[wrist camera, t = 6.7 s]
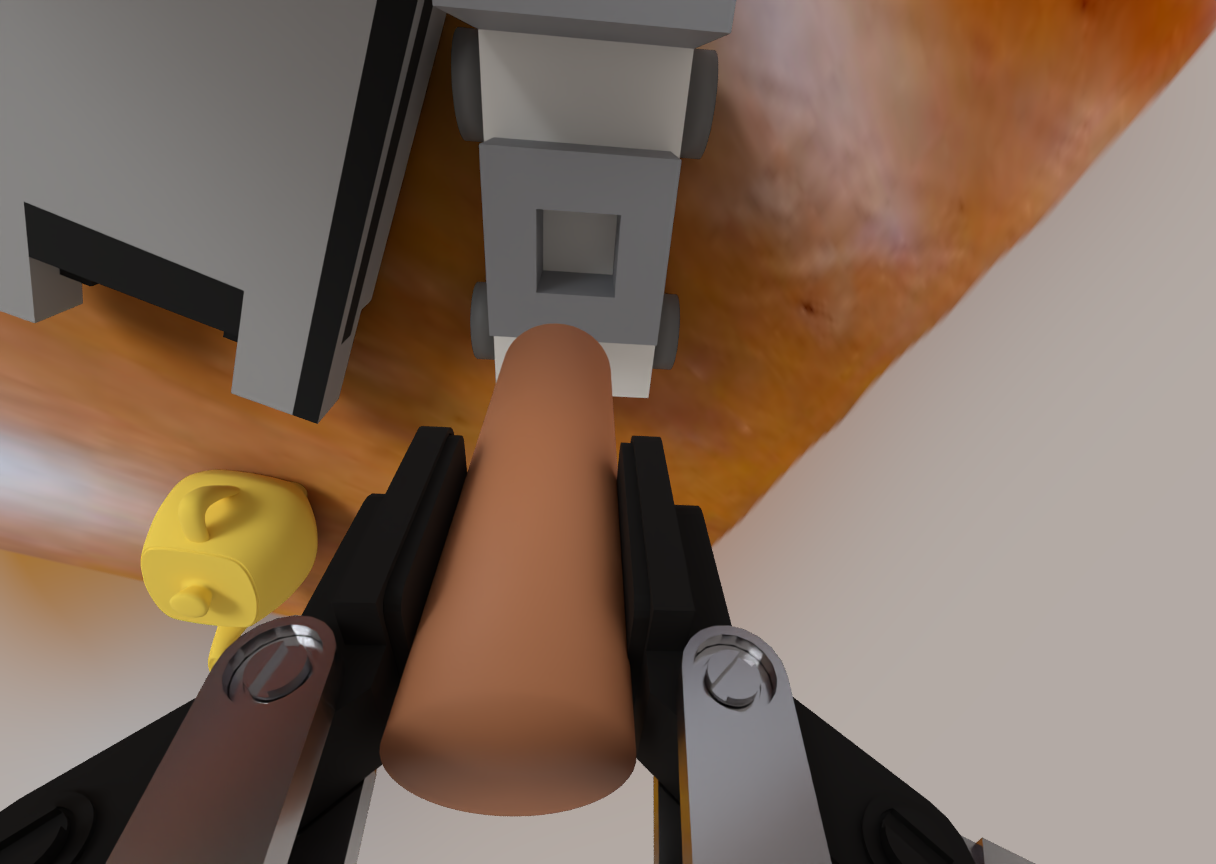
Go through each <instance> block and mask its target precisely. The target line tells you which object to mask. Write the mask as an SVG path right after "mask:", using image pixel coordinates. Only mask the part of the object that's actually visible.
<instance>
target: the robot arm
mask: <svg viewBox="0 0 1216 864" xmlns="http://www.w3.org/2000/svg"><path fill="white" fill-rule="evenodd" d="M466 476H467V467H466V456H465V446H464V439H463V436H460V435H454V432H453V429H452V428H451V427H429V426H421V427H419V429H418V430H417V432H416V434H415V436H414V438H413V440H412V442H411V444H410V446H409V448H408V450H407V452H406V454H405V456H404V458H403V460H402V462H401V464H400V466H399V468H398V470H397V472H396V474H395V476H394V478H393V480H392V482H391V484H390V486H389V488H388V490H387V492H386V494H371V495H369V496H368V497H367V498H366V499H365V501H364V502H363V504H362V506H361V508H360V510H359V511H358V513H357V515H356V517H355V519H354V520H353V522H352V524H351V526H350V528H349V530H348V531H347V533H346V535H345V537H344V539H343V541H342V542H341V544H340V546H339V548H338V550H337V552H336V553H335V555H334V557H333V559H332V561H331V562H330V564H329V566H328V568H327V570H326V572H325V573H324V575H323V577H322V579H321V581H320V583H319V584H318V586H317V588H316V590H315V592H314V594H313V595H312V597H311V599H310V601H309V603H308V604H307V606H306V608H305V610H304V612H303V614H302V615H301V616H298V615H294V616H288V617H282V618H276V619H274V620H272V621H269V622H266V623H263V624H261V625H258V626H256V627H255V628H253V629H252V630H250V631H248V632H247V633H245V634H243V635H242V636H240V637H239V638H238V639H237V640H236V641H234V642H233V643H232V644H231V645H230V646H229V647H228V648H227V649H225V650H224V652H223V653H222V655H221V656H220V657H219V659H218V660H217V661H216V663H215V664H214V666H213V667H212V669H211V671H210V673H209V675H208V677H207V678H206V680H205V682H204V684H203V686H202V688H201V689H200V691H199V693H198V695H197V697H196V698H195V699H193V700H191V701H189V702H188V703H186V704H184V705H182V706H181V707H179V708H177V709H175V710H174V711H172V712H170V713H168V714H167V715H165V716H163V717H161V718H160V719H158V720H156V721H154V722H153V723H151V724H149V725H147V726H146V727H144V728H142V729H140V730H139V731H137V732H135V733H133V734H132V735H130V736H128V737H127V738H125V739H123V740H121V741H120V742H118V743H116V744H114V745H113V746H111V747H109V748H107V749H106V750H104V751H102V752H100V753H99V754H97V755H95V756H93V757H92V758H90V759H88V760H86V761H85V762H83V763H81V764H79V765H78V766H76V767H74V768H72V769H71V770H69V771H67V772H66V773H64V774H62V775H60V776H58V777H57V778H55V779H53V780H52V781H50V782H48V783H46V784H45V785H43V786H41V787H39V788H38V789H36V790H34V791H32V792H31V793H29V794H27V795H25V796H24V797H22V798H20V799H19V800H17V801H16V802H14V803H13V804H11V805H10V806H8V807H7V808H5V809H4V810H2V811H1V812H0V864H356V863H357V859H358V855H359V850H360V846H361V841H362V837H363V832H364V827H365V823H366V819H367V814H368V810H369V806H370V801H371V796H372V792H373V788H374V783H375V779H376V771H377V768H378V767H380V766H381V765H382V762H381V758H380V753H379V752H380V743H381V740H382V737H383V734H384V731H385V728H386V725H387V721H388V718H389V715H390V712H391V709H392V706H393V703H394V700H395V697H396V693H397V690H398V687H399V684H400V681H401V678H402V675H403V672H404V669H405V665H406V662H407V659H408V656H409V653H410V650H411V647H412V644H413V641H414V638H415V635H416V632H417V628H418V625H419V622H420V619H421V616H422V613H423V610H424V607H425V604H426V600H427V597H428V594H429V591H430V588H431V585H432V582H433V579H434V576H435V572H436V569H437V566H438V563H439V560H440V557H441V554H442V551H443V547H444V544H445V541H446V538H447V535H448V532H449V529H450V526H451V523H452V519H453V516H454V513H455V510H456V507H457V504H458V501H459V498H460V495H461V491H462V488H463V485H464V482H465V479H466ZM617 495H618V511H619V527H620V543H621V559H622V575H623V591H624V607H625V624H626V640H627V656H628V659H629V663H630V669H631V682H632V697H633V712H634V727H635V742H636V758H637V759H638V760H639V761H640V762H641V763H642V764H643V765H644V766H645V767H646V768H647V769H648V770H649V771H650V772H651V773H652V774H653V775H654V777H653V780H654V781H653V783H654V785H653V787H654V789H653V790H654V864H1035V863H1033V862H1030V861H1029V860H1027V859H1025V858H1023V857H1020V856H1019V855H1017V854H1014V853H1012V852H1010V851H1008V850H1006V849H1004V848H1002V847H1000V846H998V845H996V844H994V843H992V842H990V841H988V840H986V839H984V838H981V839H980V840H979V841H978V842H977V843H975V842H973V841H971V840H969V839H967V838H965V837H963V836H961V835H960V834H959V833H958V831H957V830H956V829H955V827H954V826H953V825H952V823H951V822H950V821H949V819H948V818H947V817H946V816H945V815H944V814H943V813H941V812H940V811H939V810H938V809H937V808H936V807H935V806H934V805H933V804H932V803H931V802H930V801H928V800H927V799H926V798H924V797H923V796H922V795H920V794H919V793H918V792H917V791H915V790H914V789H913V788H911V787H910V786H909V785H907V784H906V783H905V782H904V781H902V780H901V779H900V778H898V777H897V776H896V775H894V774H893V773H892V772H890V771H889V770H888V769H887V768H885V767H884V766H883V765H881V764H880V763H879V762H877V761H876V760H875V759H873V758H872V757H871V756H870V755H868V754H867V753H865V752H864V751H863V750H862V749H860V748H859V747H858V746H856V745H855V744H854V743H853V742H851V741H850V740H849V739H847V738H846V737H844V736H843V735H842V734H841V733H839V732H838V731H837V730H836V729H834V728H833V727H832V726H830V725H829V724H827V723H826V722H825V721H824V720H822V719H821V718H820V717H818V716H817V715H816V714H815V713H813V712H812V711H811V710H809V709H808V708H807V707H805V706H804V705H802V704H801V703H800V702H799V701H798V700H796V699H795V698H794V697H793V696H792V692H791V688H790V683H789V679H788V676H787V673H786V670H785V668H784V665H783V663H782V661H781V659H780V658H779V657H778V655H777V654H776V653H775V651H774V650H773V649H772V647H770V646H769V645H768V644H767V643H766V642H764V641H763V640H762V639H761V638H760V637H758V636H756V635H754V634H752V633H750V632H748V631H746V630H744V629H741V628H736V627H732V625H731V622H730V617H729V613H728V610H727V606H726V602H725V598H724V594H723V591H722V586H721V582H720V579H719V575H718V571H717V567H716V563H715V559H714V555H713V552H712V548H711V544H710V540H709V536H708V532H707V528H706V524H705V520H704V517H703V513H702V510H701V508H700V507H699V506H690V505H674V501H673V496H672V490H671V485H670V480H669V475H668V470H667V465H666V460H665V455H664V449H663V444H662V440H661V438H660V437H649V436H632V438H631V443H621V445H620V452H619V462H618V471H617Z"/></svg>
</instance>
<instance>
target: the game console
mask: <svg viewBox="0 0 1216 864" xmlns="http://www.w3.org/2000/svg"><path fill="white" fill-rule="evenodd" d="M446 14H447V13H446V12H444V11H442V10H441V9H439V8H437V7H435V6H433V3H432V0H0V311H2V312H5V313H8V314H11V315H13V316H16V317H19V318H22V319H25V320H27V321H30V322H33V323H37V322H39V321H41V320H44V319H46V318H49V317H51V316H54V315H56V314H58V313H61V312H63V311H66V310H68V309H70V308H73V307H75V306H78V305H80V304H83V298H82V283H83V284H86V285H88V286H94V285H96V284H101V285H104V286H107V287H109V288H112V289H114V290H117V291H120V292H122V293H125V294H127V295H130V296H133V297H135V298H138V299H140V300H143V301H146V302H148V303H151V304H153V305H156V306H159V307H161V308H164V309H167V310H169V311H172V312H174V313H177V314H180V315H182V316H185V317H187V318H190V319H193V320H195V321H198V322H200V323H203V324H206V325H208V326H211V327H213V328H216V329H219V330H221V331H224V335H223V337H225V338H228V339H230V340H233V341H235V342H238V343H237V351H236V359H235V367H234V375H233V382H232V390H231V393H232V394H235V395H238V396H241V397H244V398H246V399H249V400H252V401H255V402H258V403H260V404H263V405H266V406H269V407H272V408H274V409H277V410H280V411H283V412H286V413H288V414H291V415H294V416H297V417H300V418H303V419H305V420H308V421H311V422H314V423H317V424H318V423H319V422H320V420H321V419H322V418H323V417H324V416H325V414H326V413H327V412H328V411H329V410H330V408H331V407H332V406H333V405H334V404H335V402H336V401H337V400H338V399H339V395H340V391H341V387H342V384H343V380H344V376H345V372H346V368H347V364H348V360H349V356H350V352H351V348H352V344H353V340H354V336H355V333H356V329H357V325H358V321H359V317H360V313H361V310H362V309H363V308H364V307H365V306H366V305H367V304H368V303H369V302H370V301H371V299H372V295H373V292H374V288H375V284H376V280H377V276H378V273H379V269H380V265H381V261H382V257H383V254H384V250H385V246H386V242H387V238H388V234H389V231H390V227H391V223H392V219H393V215H394V212H395V208H396V204H397V200H398V196H399V193H400V189H401V185H402V181H403V177H404V174H405V170H406V166H407V162H408V158H409V154H410V151H411V147H412V143H413V139H414V135H415V132H416V128H417V124H418V120H419V116H420V113H421V109H422V105H423V101H424V97H425V94H426V90H427V86H428V82H429V78H430V75H431V71H432V67H433V63H434V59H435V55H436V52H437V48H438V44H439V40H440V36H441V33H442V29H443V25H444V21H445V17H446Z"/></svg>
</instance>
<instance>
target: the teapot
mask: <svg viewBox="0 0 1216 864" xmlns="http://www.w3.org/2000/svg"><path fill="white" fill-rule="evenodd" d="M317 548H318V534H317V526H316V521H315V517H314V514H313V511H312V508H311V505H310V503H309V501H308V499H307V491H306V489H305V488H304V487H303V486H302V485H301V484H299V483H296V482H288V481H285V480H282V479H278V478H274V477H270V476H265V475H260V474H254V473H248V472H241V471H232V470H208V471H203V472H198V473H195V474H192V475H189V476H187V477H186V478H184V479H183V480H181V481H180V482H179V483H178V484H177V485H176V486H175V487H174V488H173V489H172V491H171V492H170V493H169V494H168V496H167V497H166V499H165V500H164V502H163V503H162V505H161V506H160V508H159V510H158V512H157V514H156V515H155V517H154V520H153V522H152V524H151V527H150V530H149V532H148V535H147V538H146V541H145V543H144V547H143V551H142V555H141V570H142V575H143V580H144V583H145V586H146V588H147V590H148V592H149V594H150V595H151V597H152V599H153V601H154V602H155V603H156V605H157V606H158V607H159V609H160V610H161V611H162V612H164V613H165V614H166V615H168V616H169V617H171V618H174V619H178V620H182V621H187V622H193V623H200V624H207V625H216V626H218V627H217V630H216V634H215V637H214V640H213V643H212V646H211V650H210V654H209V658H208V667H209V671H211V669H212V667H213V666H214V664H215V663H216V661H217V660H218V659H219V657H220V656H221V655H222V653H223V652H224V650H225V649H227V648H228V647H229V646H230V645H231V644H232V643H233V642H234V641H236V640H237V639H238V638H239V637H240V636H241V634H242V633H243V632H244V631H245V629H246V628H247V627H249V626H252V625H253V624H255V623H257V622H258V621H260V620H261V619H263V618H264V617H265V616H267V615H268V614H269V613H271V612H272V611H273V610H275V609H276V608H277V607H279V606H280V605H281V604H282V603H284V602H285V601H286V600H287V599H288V598H289V597H290V596H291V595H292V594H293V593H294V592H295V591H296V589H297V588H298V587H299V586H300V585H301V584H302V582H303V581H304V580H305V579H306V577H307V576H308V574H309V572H310V571H311V569H312V567H313V564H314V561H315V558H316V554H317Z"/></svg>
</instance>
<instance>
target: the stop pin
mask: <svg viewBox="0 0 1216 864" xmlns="http://www.w3.org/2000/svg"><path fill="white" fill-rule="evenodd" d="M379 753H380V758H381V762H382V764H383V766H384V768H385V770H386V771H387V773H388V774H389V775H390V776H391V778H392V779H394V780H395V781H396V782H397V783H398V784H399V785H400V786H402V787H403V788H405V789H406V790H407V791H409V792H411V793H413V794H415V795H416V796H418V797H420V798H423V799H425V800H427V801H429V802H432V803H435V804H438V805H441V806H444V807H447V808H451V809H455V810H459V811H464V812H469V813H476V814H483V815H494V816H534V815H545V814H552V813H558V812H563V811H568V810H572V809H575V808H579V807H582V806H585V805H588V804H591V803H593V802H595V801H598V800H600V799H602V798H604V797H606V796H608V795H609V794H611V793H612V792H614V791H615V790H617V789H618V788H619V787H620V786H622V785H623V784H624V783H625V781H626V780H627V779H628V778H629V777H630V775H631V774H632V772H633V770H634V767H635V764H636V742H635V727H634V712H633V697H632V682H631V669H630V663H629V659H628V656H627V640H626V624H625V607H624V591H623V575H622V559H621V543H620V527H619V511H618V495H617V456H616V441H615V426H614V411H613V396H612V381H611V369H610V363H609V360H608V357H607V355H606V352H605V351H604V349H603V348H602V346H601V345H600V344H599V343H598V341H596V340H595V339H594V338H593V337H592V336H591V335H589V334H588V333H586V332H585V331H583V330H581V329H579V328H576V327H574V326H570V325H566V324H543V325H539V326H536V327H533V328H531V329H529V330H527V331H525V332H523V333H522V334H521V335H519V336H518V337H517V338H516V339H515V340H514V341H513V342H512V344H511V345H510V347H509V348H508V350H507V352H506V354H505V357H504V360H503V364H502V367H501V370H500V373H499V376H498V379H497V382H496V385H495V388H494V392H493V395H492V398H491V401H490V404H489V407H488V410H487V413H486V416H485V420H484V423H483V426H482V429H481V432H480V435H479V438H478V441H477V444H476V448H475V451H474V454H473V457H472V460H471V463H470V466H469V469H468V472H467V476H466V479H465V482H464V485H463V488H462V491H461V495H460V498H459V501H458V504H457V507H456V510H455V513H454V516H453V519H452V523H451V526H450V529H449V532H448V535H447V538H446V541H445V544H444V547H443V551H442V554H441V557H440V560H439V563H438V566H437V569H436V572H435V576H434V579H433V582H432V585H431V588H430V591H429V594H428V597H427V600H426V604H425V607H424V610H423V613H422V616H421V619H420V622H419V625H418V628H417V632H416V635H415V638H414V641H413V644H412V647H411V650H410V653H409V656H408V659H407V662H406V665H405V669H404V672H403V675H402V678H401V681H400V684H399V687H398V690H397V693H396V697H395V700H394V703H393V706H392V709H391V712H390V715H389V718H388V721H387V725H386V728H385V731H384V734H383V737H382V740H381V743H380V752H379Z"/></svg>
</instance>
